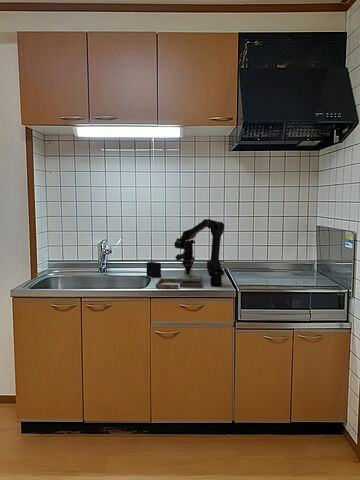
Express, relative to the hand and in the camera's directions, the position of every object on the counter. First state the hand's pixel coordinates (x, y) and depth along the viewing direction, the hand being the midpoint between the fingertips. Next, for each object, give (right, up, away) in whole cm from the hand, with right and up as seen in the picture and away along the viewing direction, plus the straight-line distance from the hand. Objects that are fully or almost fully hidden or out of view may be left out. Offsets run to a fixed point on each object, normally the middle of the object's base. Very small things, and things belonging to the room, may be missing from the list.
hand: (188, 273), depth 267 cm
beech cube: (0, -3, 0) cm, 3 cm away
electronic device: (-24, -4, +12) cm, 27 cm away
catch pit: (+1, -7, -17) cm, 18 cm away
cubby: (-12, -7, -15) cm, 20 cm away
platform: (0, -5, +1) cm, 5 cm away
